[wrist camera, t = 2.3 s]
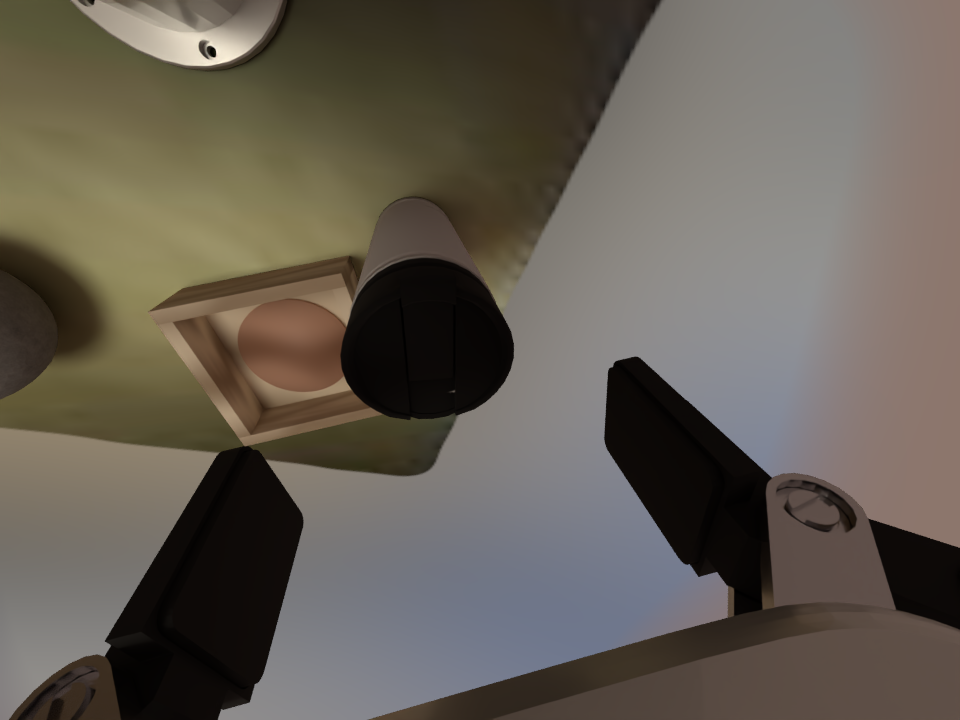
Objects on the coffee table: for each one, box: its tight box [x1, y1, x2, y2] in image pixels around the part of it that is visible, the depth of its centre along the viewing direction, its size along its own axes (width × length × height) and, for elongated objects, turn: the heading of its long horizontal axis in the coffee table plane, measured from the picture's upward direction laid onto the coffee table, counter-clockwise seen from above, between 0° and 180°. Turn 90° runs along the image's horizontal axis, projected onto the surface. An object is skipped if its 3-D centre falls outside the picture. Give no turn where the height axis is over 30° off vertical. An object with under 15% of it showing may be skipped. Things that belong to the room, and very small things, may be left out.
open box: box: [148, 256, 382, 446], centre depth 30 cm, size 13×13×4 cm
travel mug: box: [340, 197, 514, 420], centre depth 21 cm, size 6×7×20 cm
